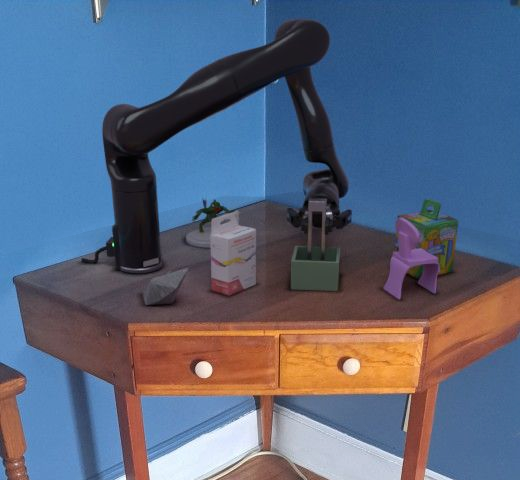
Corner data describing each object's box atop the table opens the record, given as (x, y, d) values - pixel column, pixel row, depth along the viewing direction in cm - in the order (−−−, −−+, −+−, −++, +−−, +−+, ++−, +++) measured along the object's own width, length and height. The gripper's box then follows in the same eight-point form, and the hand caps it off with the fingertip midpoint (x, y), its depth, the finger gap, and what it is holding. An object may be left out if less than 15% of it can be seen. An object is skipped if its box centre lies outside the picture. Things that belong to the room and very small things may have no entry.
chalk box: (391, 268, 172) (396, 199, 166) (423, 260, 177) (429, 193, 170) (421, 281, 166) (427, 210, 159) (454, 272, 170) (461, 203, 163)
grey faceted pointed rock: (124, 301, 154) (134, 273, 160) (146, 324, 157) (154, 295, 164) (173, 275, 149) (181, 246, 155) (195, 298, 152) (201, 270, 159)
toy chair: (440, 295, 159) (448, 220, 152) (401, 301, 156) (407, 225, 149) (418, 280, 166) (424, 209, 159) (380, 286, 163) (385, 213, 156)
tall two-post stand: (304, 284, 164) (305, 202, 156) (305, 278, 168) (307, 197, 160) (326, 285, 164) (328, 202, 156) (326, 279, 167) (329, 197, 159)
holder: (290, 289, 162) (291, 260, 159) (294, 273, 170) (295, 245, 168) (337, 291, 161) (338, 262, 158) (339, 274, 169) (340, 247, 167)
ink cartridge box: (229, 297, 159) (227, 223, 152) (211, 291, 162) (208, 219, 155) (257, 284, 165) (257, 213, 158) (239, 279, 167) (237, 209, 161)
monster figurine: (198, 250, 183) (196, 206, 179) (178, 236, 193) (175, 193, 188) (245, 242, 188) (245, 199, 184) (223, 228, 198) (222, 186, 193)
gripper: (288, 186, 172) (280, 209, 157) (355, 188, 170) (353, 211, 155) (288, 221, 175) (280, 246, 160) (353, 222, 174) (351, 249, 159)
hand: (316, 229), depth 158 cm, fingers closed on tall two-post stand, 3 cm apart
